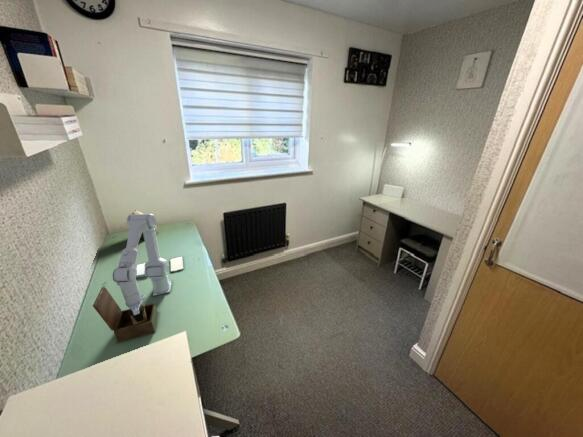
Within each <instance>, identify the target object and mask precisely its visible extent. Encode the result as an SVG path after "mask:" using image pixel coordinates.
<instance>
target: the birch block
mask: <svg viewBox="0 0 583 437" xmlns="http://www.w3.org/2000/svg"><path fill="white" fill-rule="evenodd" d="M144 305H145V304H141V305H140V307H142V306H144ZM131 319H132V321H133V324H134V325H136V324H138V323H141V322H144V321H146V320H147V312H146V309H145V306H144V311H143V320H142V321H140V322H137V321H136V320H135V318H134V317H132V316H131Z"/></svg>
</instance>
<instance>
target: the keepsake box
mask: <svg viewBox="0 0 583 437" xmlns="http://www.w3.org/2000/svg"><path fill="white" fill-rule="evenodd" d="M144 306H145V309H146V312H147V320H146V321H144V322H141V323H138V324H136V325H134V324H133V321H132V319H131V316H130V315H129V314H128V311H129V310H131V309H130V308H127V309H124V310H121V312H120V315H119V318H118V320H117V323H116V326H115V329H114V330H113V334H114V336H115V339H116V341H117V343H121V342H124V341H128V340H132V339H135V338H139V337H142V336H146V335H150V334H153V333H155V332H156V329H157V328H156V327H157V321H158V315H159V312H158V309H157V305H156V302H154V303H149V304H144Z"/></svg>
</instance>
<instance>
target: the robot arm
mask: <svg viewBox="0 0 583 437" xmlns="http://www.w3.org/2000/svg"><path fill="white" fill-rule="evenodd" d="M126 226H127V229H128V235H127V240H126V247H125V248H124V249H123V250H121V253H120V258H119V260H118V265H117V267H116V268H115V269H113V272H112V281H113V282H114V283H116V285H117V286H118V287H119V288H120V291H121V294H122V297H123V299H124V302H125V306H126V307H127V309H131V310H129V311H128V314H129V315H130V316H132V317H134V318H135V320H136V321H137V322H140V321H142V320H143V311H144V306H142V307H140V305H142V303H143V300H145V299H146V295H145V294H143V295H142V294H141V291H140V287H139V285H138V281H137V278H136V275H137V260H138V257H139V251H138V249H137V248H138V245H139V242H140V239H141V238H140V237H141V234H142V232H143V235H144V239H143V240H144V244H145V249H146V254H147V259H148V260H147V261H146V262H145V271H144V272H145V275H146V276H145V277H146V278H148V279H149V280H151V284H152V287H153V292H152V296H155V297H156V296H159V295H163V294H168V293H171V290H172V289H171V287H172V280H170V278H169V276H168V274H169V272H170V265H169V264H168V261H167V259H165V258H162V257H161V255H160V249H159V244H158V240H157V234H156V233H155V228H156V229H157V228H158V225H157V217H156V215H154V214H153V213H143V214H132V213H131V214H128V216H127V218H126Z"/></svg>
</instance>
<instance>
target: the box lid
mask: <svg viewBox="0 0 583 437" xmlns="http://www.w3.org/2000/svg"><path fill="white" fill-rule="evenodd" d="M92 307H93V308H94V310H95V311H96V312H97V314H98V315H99V316H100V317H101V319H102V320H103V322H104V323H105V324H106V326H107V327H108V328H109V329H110V331H111V332H114V329H115V326H116V323H117V320H118V318H119V315H120V312H121V311H122V309H121V308H120V305H118V303H117V302H116V300H115V299H114V298H113V296H112V294H111V292H109V290H108V289H107V287H106V286H105V285H103V286H101V288H100V290H99V292H98V294H97V296H96V298H95V300H94V302H93V304H92Z"/></svg>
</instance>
